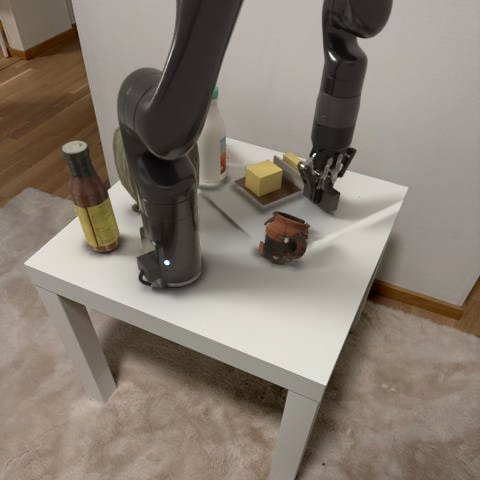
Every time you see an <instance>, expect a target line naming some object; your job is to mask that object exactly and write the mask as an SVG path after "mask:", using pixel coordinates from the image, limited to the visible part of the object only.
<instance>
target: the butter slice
mask: <svg viewBox="0 0 480 480" xmlns="http://www.w3.org/2000/svg"><path fill="white" fill-rule="evenodd" d="M282 160H283V161H285V162H286V163H287V164H289V165H290V166H292V167H293V168H294V169H296V170H297V171H299V170H298V167H297V164H298V163H299V162H300V161H302V162H303V163H304V162H305V161H304V160H302V158H299V157H298V156H297V155H295V154H293V153H292V152H291V151H288V152H285V153H283V154H282Z"/></svg>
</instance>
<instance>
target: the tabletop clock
mask: <svg viewBox="0 0 480 480" xmlns="http://www.w3.org/2000/svg"><path fill="white" fill-rule="evenodd" d="M112 152H113V161H114V167H115V170H116V173H117V175H118V179H119V182H120V183H121V185H122V186H123V188H124V189H125V190H126V192H127V193H128V194H129V195H130V197H131V198H132V199H133V201H135V203H133V204H132V205H131V210H132V211H133V212H138V211H140V205H139V200H138V194H137V189H136V184H135V181H134V178H133V176H132V174H131V172H130V169H129V167H128V163H127V159H126V155H125V150H124V146H123V141H122V137H121V132H120V127H119V126H118V127H116V128H115V129H113V134H112ZM187 155H188V157H189V159H190V160H191V162H192V164H193V166H194V168H195V171H196V176H197V191H199V187H200V186H199V185H200V182H199V168H200V159H199V151H198V144H197V143H196V144H195V146H194V147H193V148H192V150H191V151H190V152H189V153H188V154H187Z"/></svg>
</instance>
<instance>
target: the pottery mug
mask: <svg viewBox="0 0 480 480" xmlns="http://www.w3.org/2000/svg"><path fill="white" fill-rule="evenodd" d="M263 226H266V227H265V235H264V241H263V240H260V241H259V243H258V253H259V254H260V255H261V256H263V258H265V259H267V260H269V261H271V262H273V263H275V264H282V263H283V260H284V259H285V258H286V259H287V260H288V261H290V262H291V261H292V262H293V261H294V260H295V261H296V260H299V259H301V258H302V257H303V256H305V254H306V252H307V249H308V244H307V243H308V242H307V240H308V238H309V234H310V232H309V229H310V228H311V224H310V223H308V222H306V221H305V220H304V219H301V218H299V217H297V216H295V215H292V214H289V213H287V212H282V211H273V212H272V216H271V217H270V218H268V219H267V220H266V221H265V222H264V224H263ZM285 238H286V239H287V242H286V241H285V240H286V239H285Z"/></svg>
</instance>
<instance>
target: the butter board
mask: <svg viewBox="0 0 480 480" xmlns="http://www.w3.org/2000/svg"><path fill="white" fill-rule="evenodd" d="M245 179H246V176H244V177H241V178H238V179H235V180H234V181H233V182H234V183H235V184H236V185H238V186H239V187H240V188H241V189H242V190H244V191H245V192H246V193H247V194H248V195H250V196H251V197H252V198H253V199H254V200H256V201H257V202H258V203H259V204H261V206H263V207H265V206H268V205H269V204H271V203H275V202H277V201H279V200H281V199H284V198H287V197H289V196H292V195H294V194H297V193H299V192H303V190H301V189H300V188H299V187H297V186H296V185H295V184H293V183H292V182H291V181H289V180H288V179H287V178H285V177H284V176H283V175H282V181H281V189H278V190H275V191H273V192H270V193H268V194H265V195H263V196H260V197H258V196H257V195H256V194H254V193H253V192H252V191H251V190H250V189H248V188H247V187H246V186H245Z"/></svg>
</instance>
